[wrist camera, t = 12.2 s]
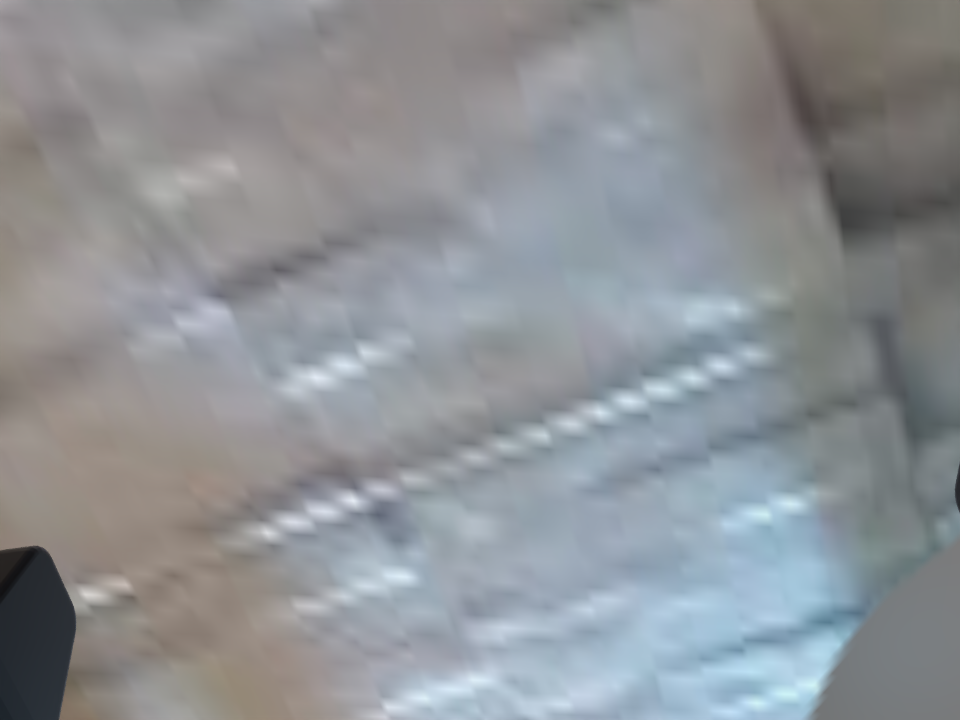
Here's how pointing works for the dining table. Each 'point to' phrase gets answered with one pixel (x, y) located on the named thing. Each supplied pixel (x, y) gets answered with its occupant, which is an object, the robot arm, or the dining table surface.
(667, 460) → the dining table surface
